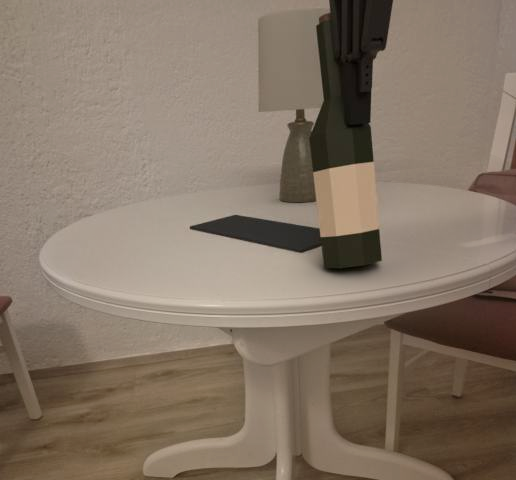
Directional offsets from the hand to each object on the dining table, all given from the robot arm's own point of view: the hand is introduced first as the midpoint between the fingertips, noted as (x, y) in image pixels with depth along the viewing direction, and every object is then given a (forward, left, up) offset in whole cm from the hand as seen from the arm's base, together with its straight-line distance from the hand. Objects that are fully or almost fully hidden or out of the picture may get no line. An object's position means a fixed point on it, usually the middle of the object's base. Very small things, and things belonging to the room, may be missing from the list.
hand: (357, 123), depth 58 cm
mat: (+17, -22, -18) cm, 33 cm away
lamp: (+13, -54, -19) cm, 59 cm away
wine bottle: (0, 0, -18) cm, 18 cm away
